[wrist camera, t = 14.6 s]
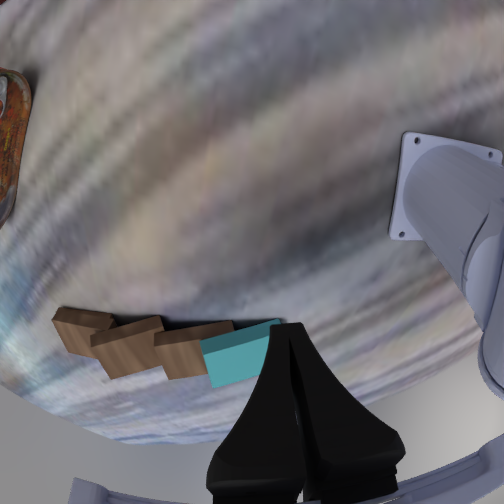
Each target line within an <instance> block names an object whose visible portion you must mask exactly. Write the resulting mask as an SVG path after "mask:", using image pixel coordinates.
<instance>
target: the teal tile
mask: <svg viewBox="0 0 504 504" xmlns="http://www.w3.org/2000/svg"><path fill="white" fill-rule="evenodd" d="M272 324H281V322H280V321H279V319H275V320H271V321H268V322H265V323H261V324H258V325H255V326H251V327H248V328H244V329H241V330H237V331H234V332H230V333H227V334H223V335H219V336H216V337H212V338H208V339H204V340H201V341H199V343H200V346H201V350H202V354H203V357H204V361H205V364H206V368H207V371H208V375H209V378H210V381H211V384H212V387H213V388H217V387H220V386H224V385H227V384H231V383H234V382H237V381H241V380H244V379H247V378H251V377H254V376H257V375H260V372H261V369H262V366H263V363H264V360H265V356H266V352H267V348H268V343H269V335H270V326H271V325H272Z"/></svg>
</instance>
